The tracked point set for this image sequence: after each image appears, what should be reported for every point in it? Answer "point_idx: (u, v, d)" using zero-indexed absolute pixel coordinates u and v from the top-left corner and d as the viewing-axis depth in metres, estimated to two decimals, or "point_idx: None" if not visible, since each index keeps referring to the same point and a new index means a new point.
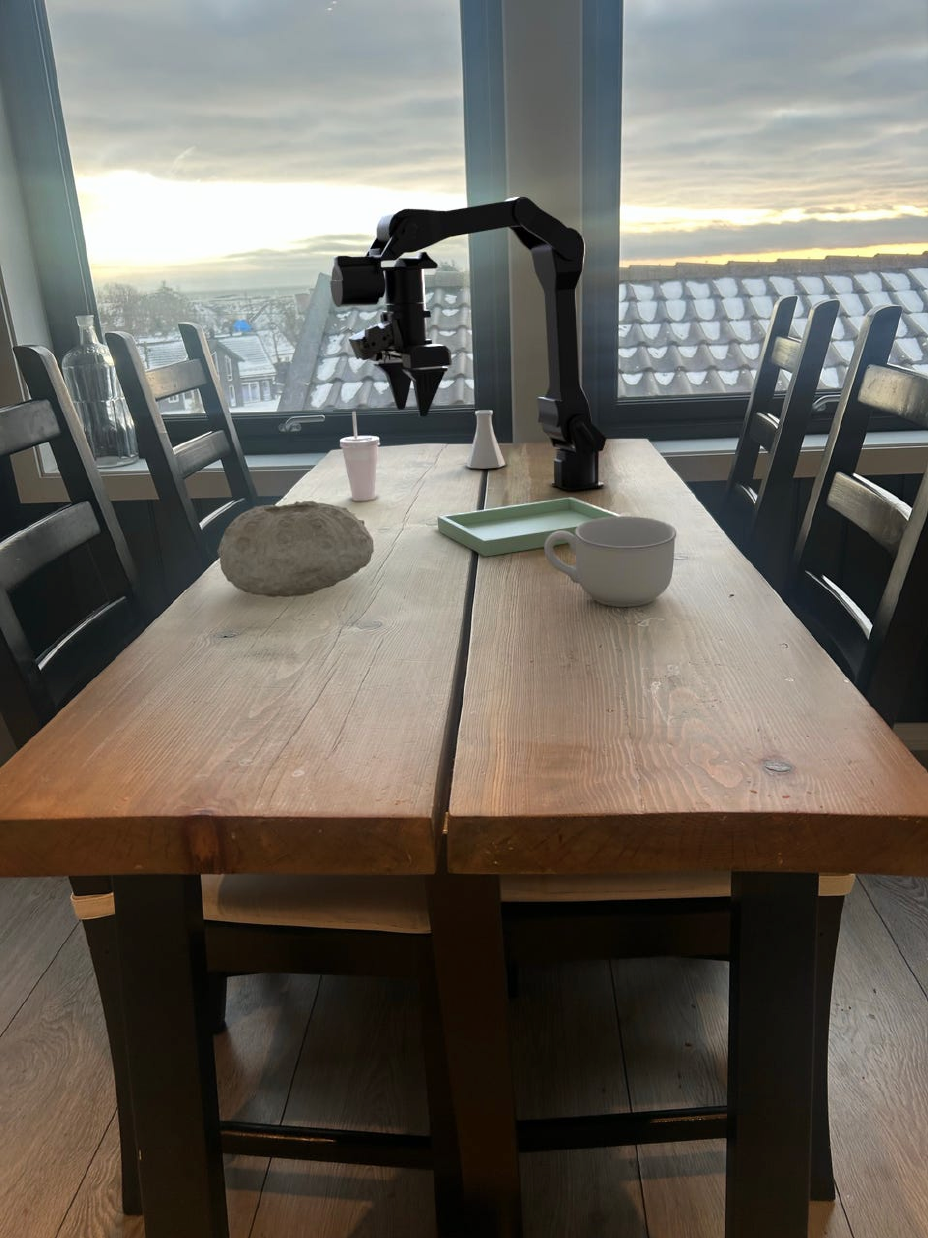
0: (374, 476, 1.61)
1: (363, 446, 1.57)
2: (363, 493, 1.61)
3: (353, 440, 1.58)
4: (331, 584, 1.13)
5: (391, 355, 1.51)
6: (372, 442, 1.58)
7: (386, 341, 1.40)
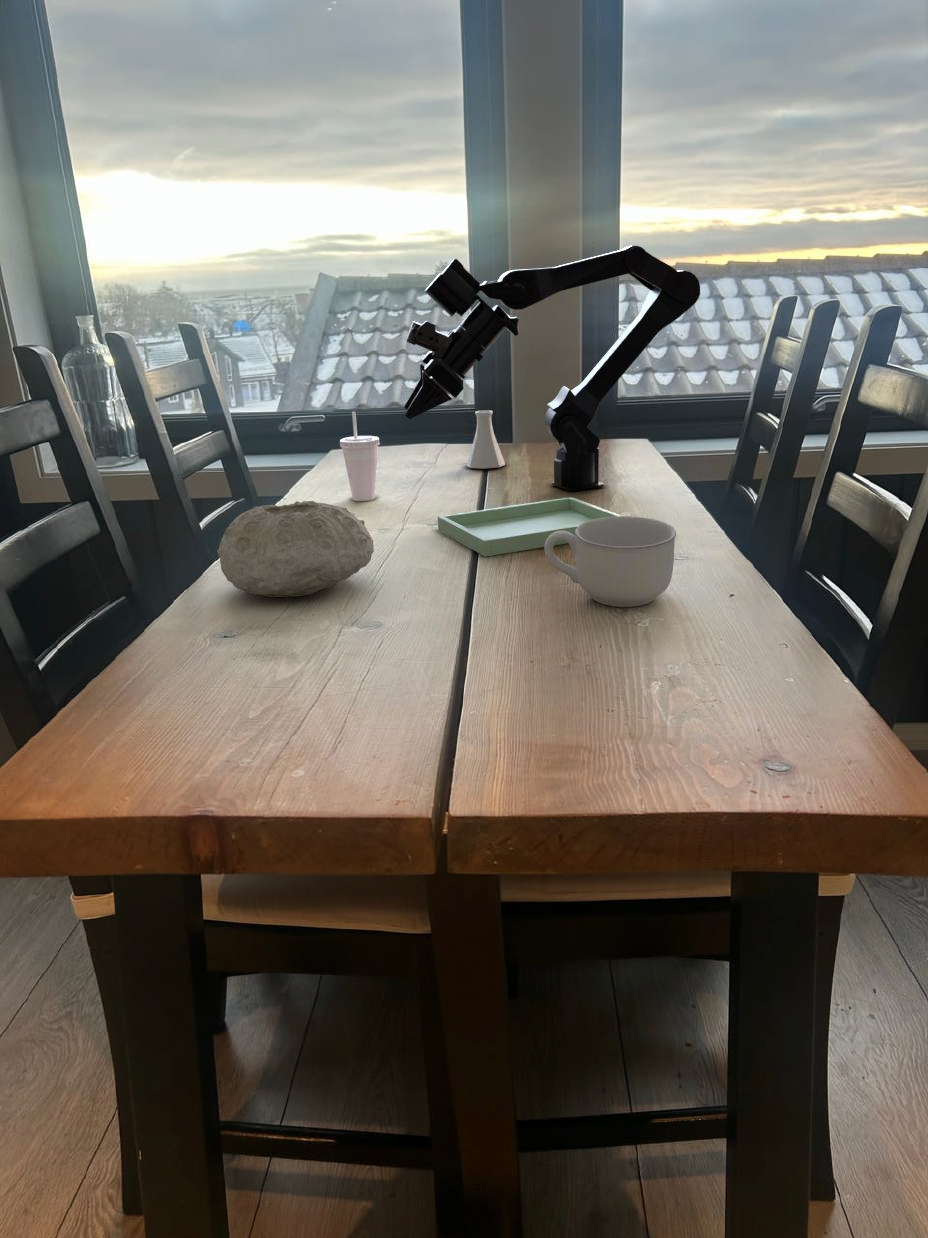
0: (374, 476, 1.61)
1: (363, 446, 1.57)
2: (363, 493, 1.61)
3: (353, 440, 1.58)
4: (331, 584, 1.13)
5: None
6: (372, 442, 1.58)
7: (430, 341, 1.51)
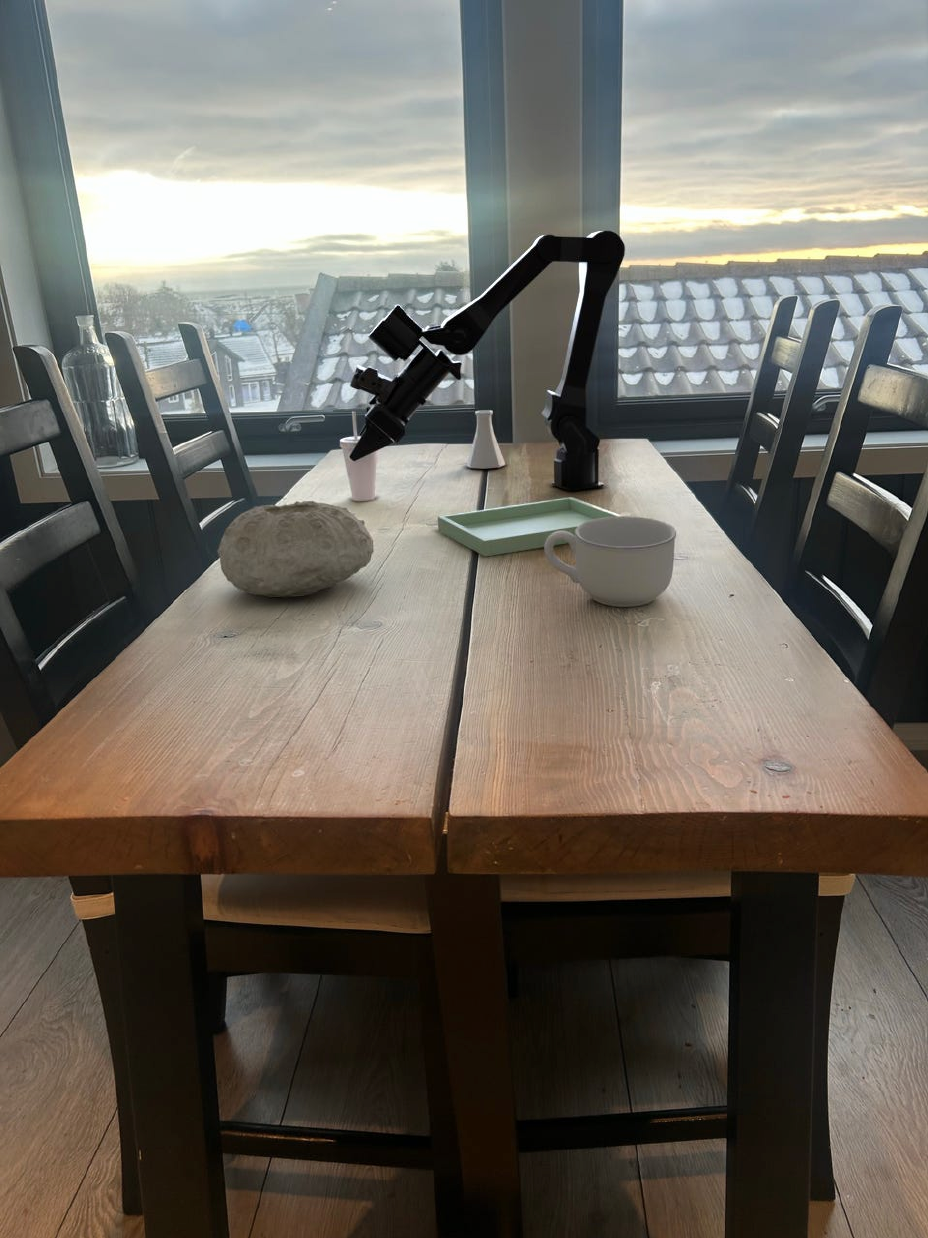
0: (374, 476, 1.61)
1: None
2: (363, 493, 1.61)
3: (353, 440, 1.58)
4: (331, 584, 1.13)
5: None
6: None
7: (373, 387, 1.53)
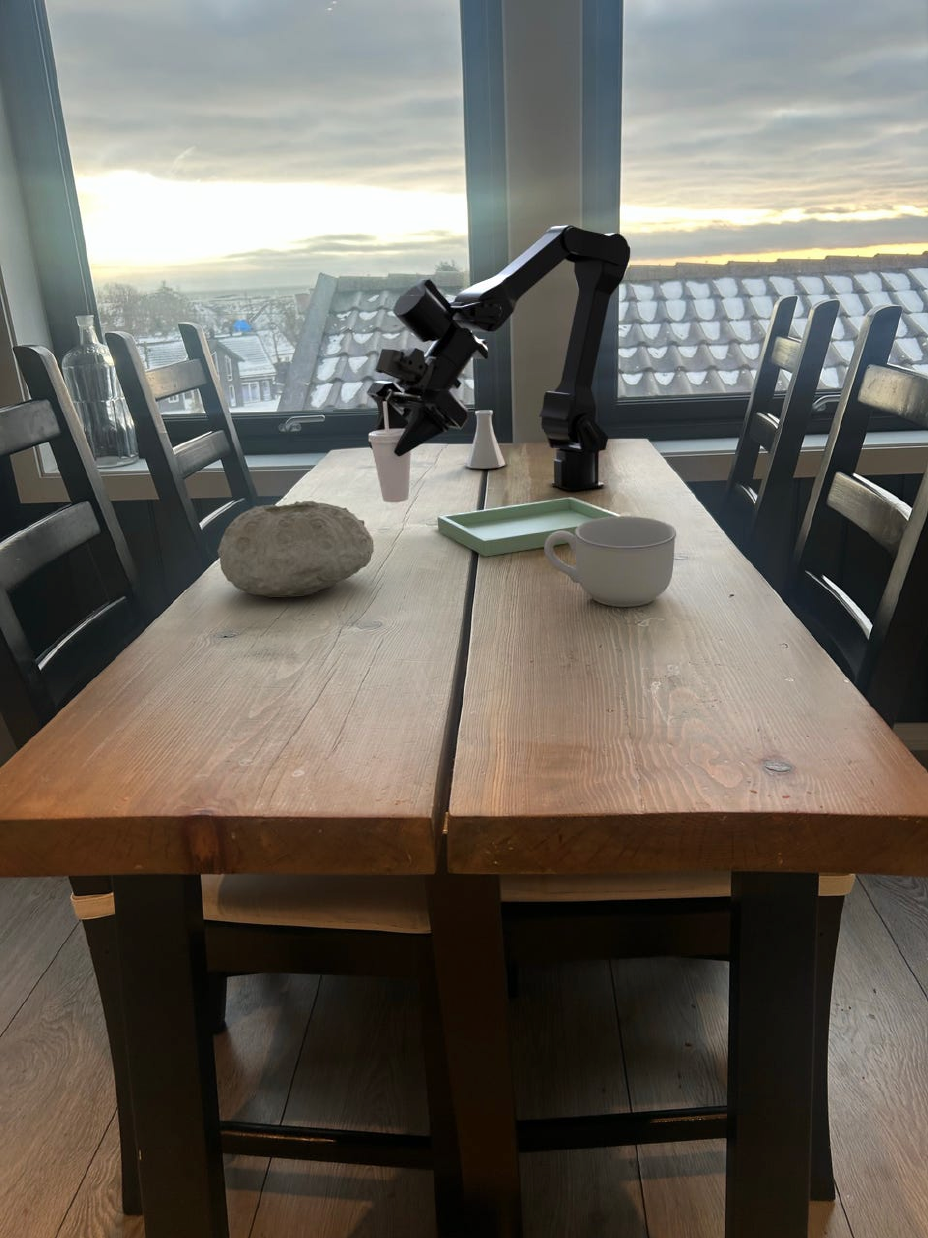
0: (409, 472, 1.44)
1: None
2: (403, 492, 1.43)
3: (390, 433, 1.40)
4: (331, 584, 1.13)
5: None
6: None
7: (420, 370, 1.37)
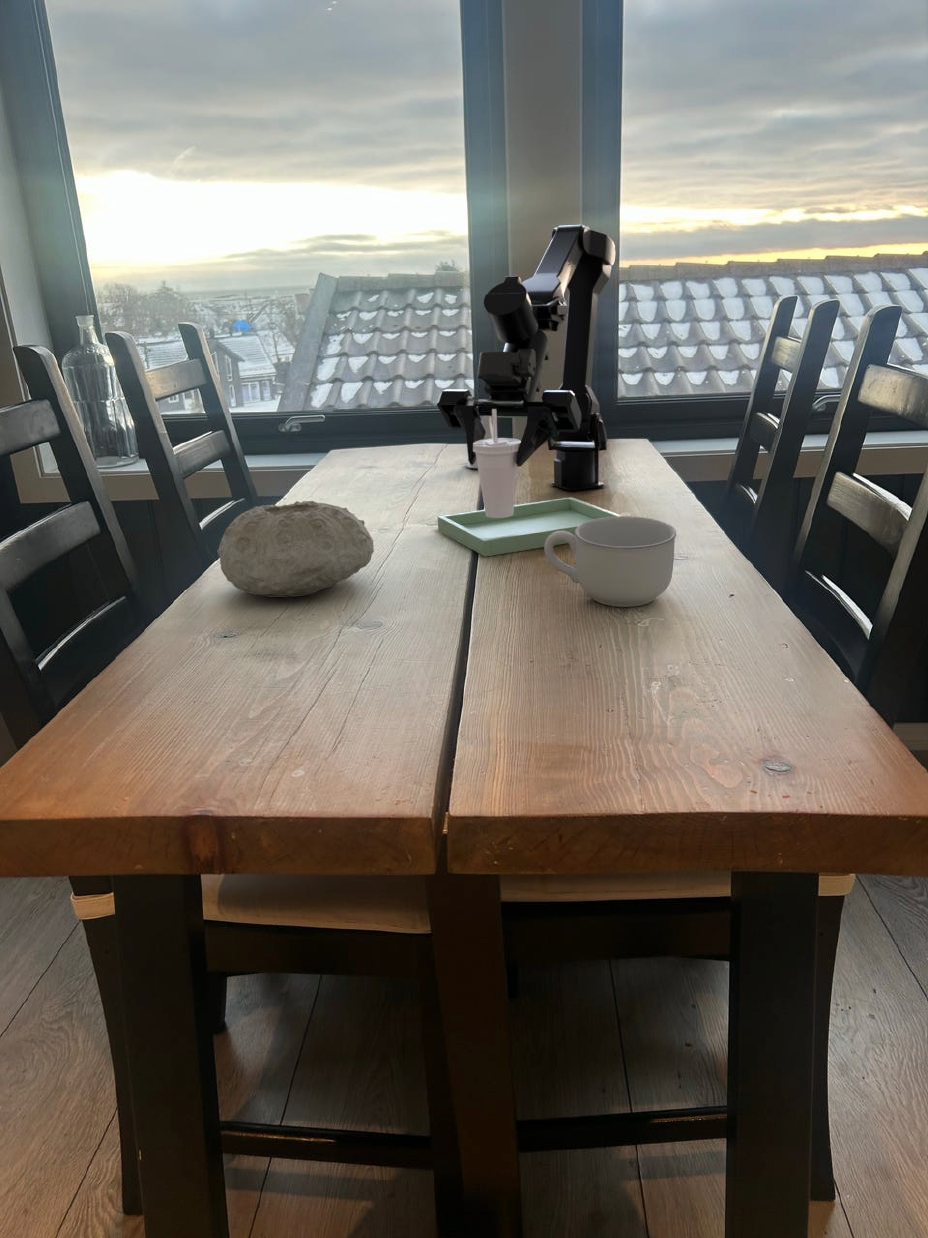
0: None
1: None
2: (513, 505, 1.32)
3: (504, 443, 1.29)
4: (331, 584, 1.13)
5: None
6: None
7: (533, 372, 1.28)
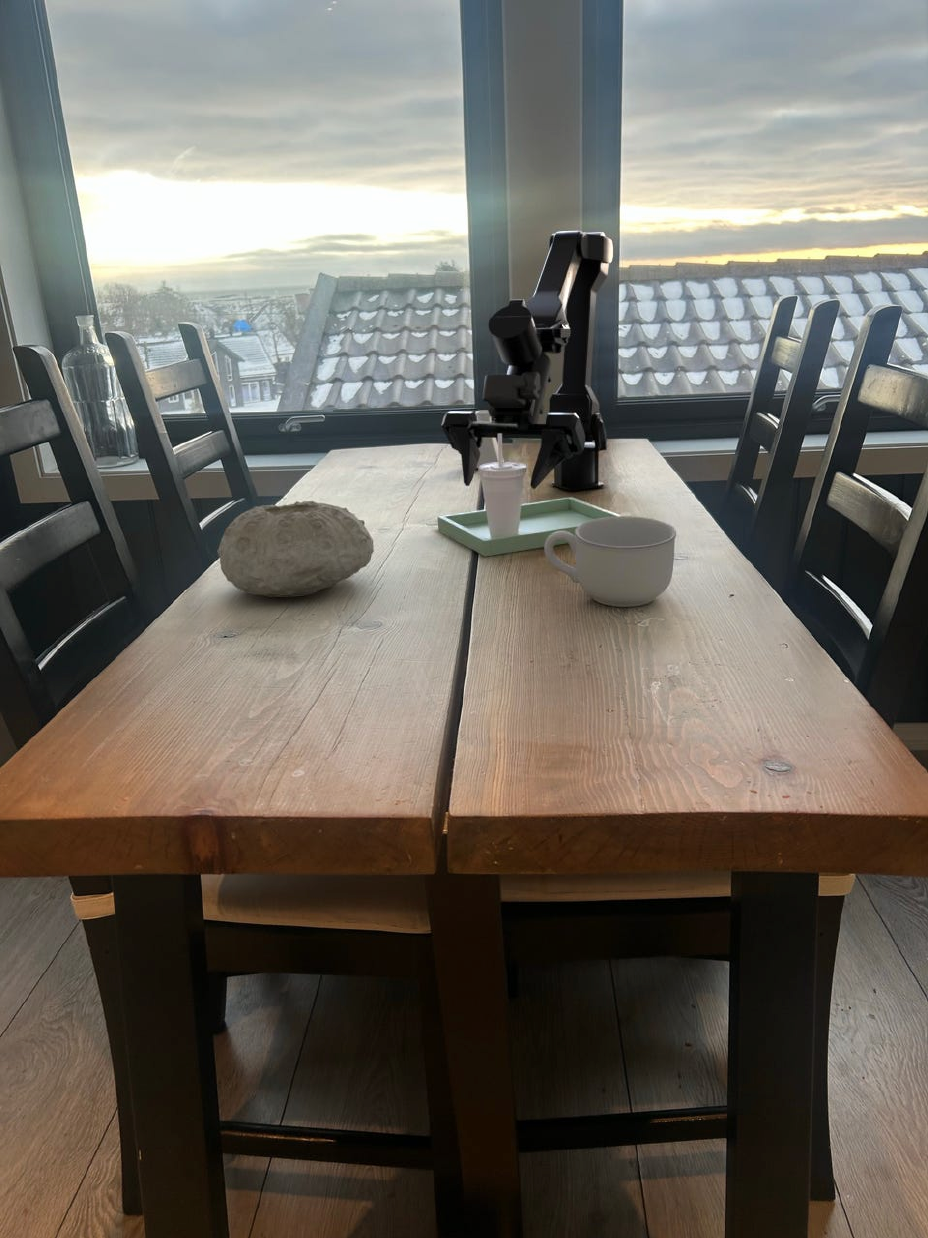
0: None
1: (525, 471, 1.30)
2: (518, 529, 1.33)
3: (509, 467, 1.29)
4: (331, 584, 1.13)
5: (474, 430, 1.35)
6: None
7: (538, 395, 1.29)
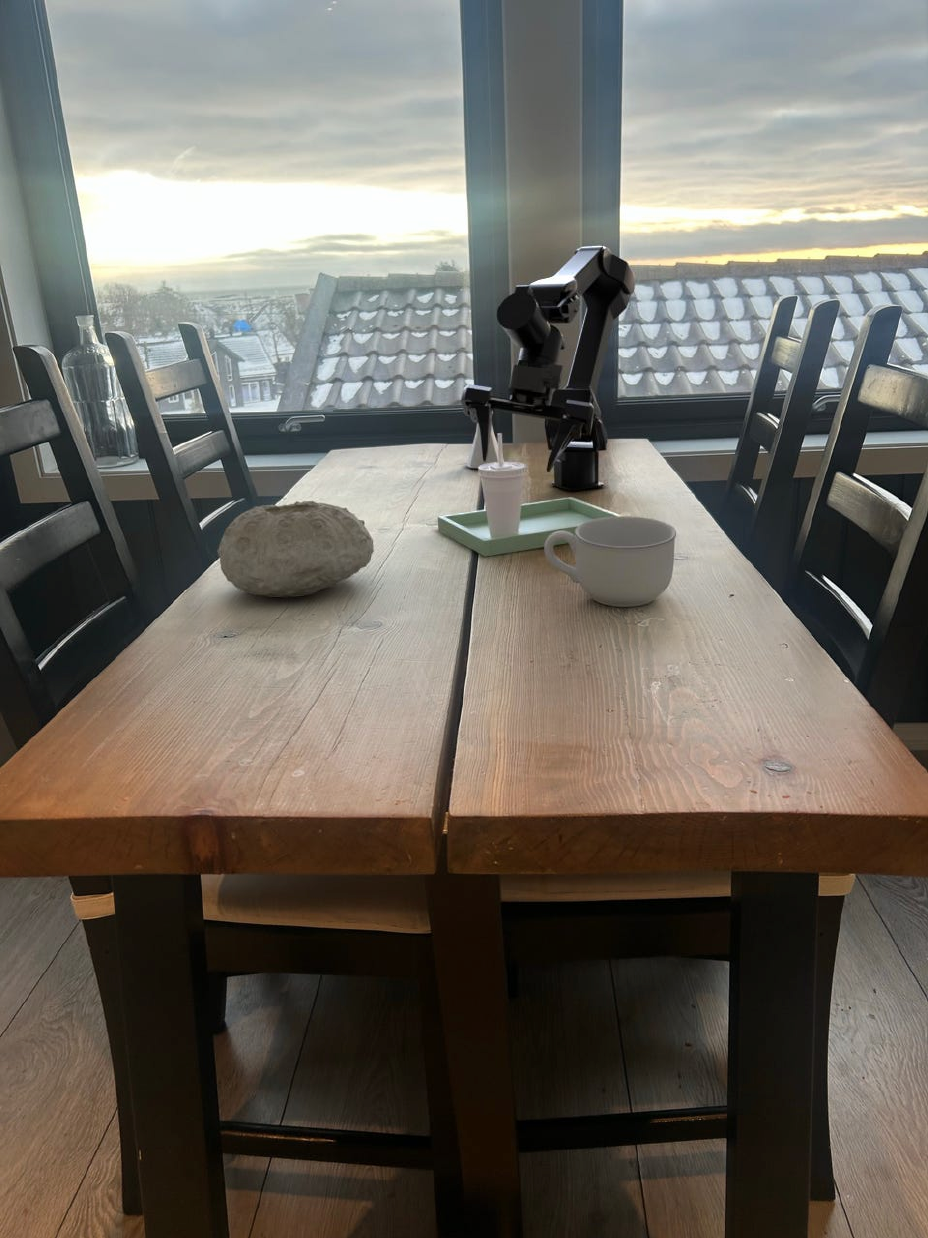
0: None
1: (525, 471, 1.30)
2: (518, 529, 1.33)
3: (509, 467, 1.29)
4: (331, 584, 1.13)
5: (490, 404, 1.43)
6: None
7: (559, 385, 1.38)
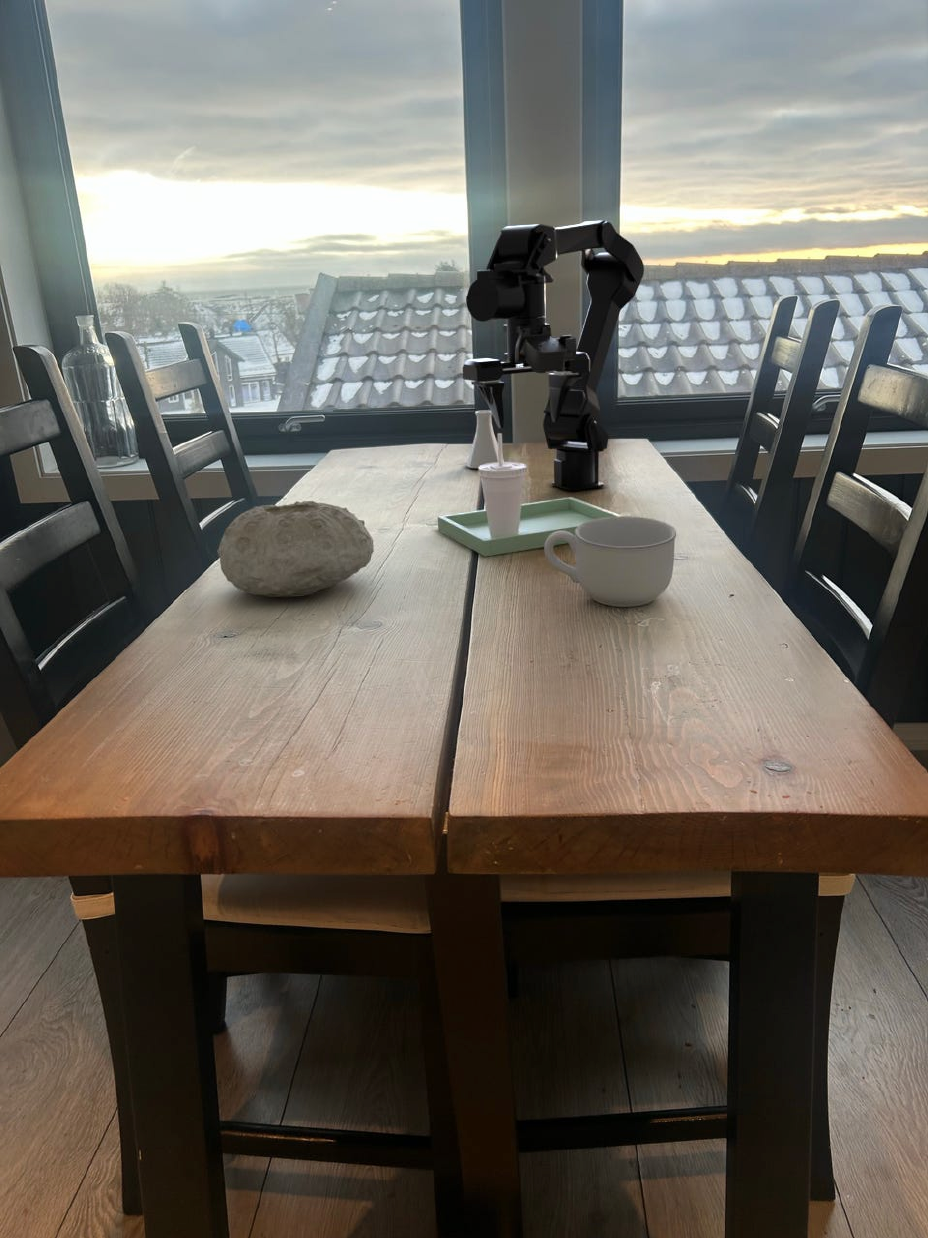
0: None
1: (525, 471, 1.30)
2: (518, 529, 1.33)
3: (509, 467, 1.29)
4: (331, 584, 1.13)
5: None
6: None
7: None
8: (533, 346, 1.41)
